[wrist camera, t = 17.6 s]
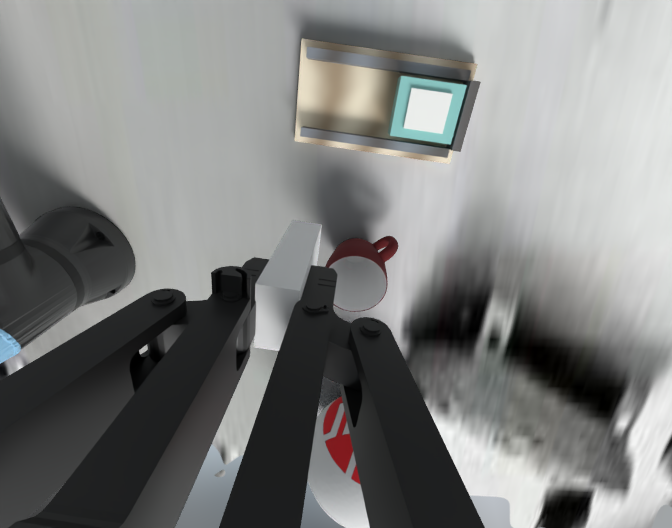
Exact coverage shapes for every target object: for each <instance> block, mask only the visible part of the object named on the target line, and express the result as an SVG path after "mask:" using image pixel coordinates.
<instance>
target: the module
mask: <svg viewBox="0 0 672 528" xmlns="http://www.w3.org/2000/svg"><path fill="white" fill-rule="evenodd" d="M466 87H467V85H462V84H455V83H448V82H441V81H434V80H427V79H421V78H414V77H407V76H400V77H399V78H398V81H397V87H396V92H395V97H394V103H393V108H392V113H391V118H390V124H389V129H388V134H389V135H390V136H396V137H403V138H409V139H416V140H423V141H430V142H437V143H443V144H450V145H451V141H452V138H453V134H454V130H455V127H456V123H457V119H458V116H459V112H460V109H461V105H462V101H463V98H464V94H465V90H466Z"/></svg>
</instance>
